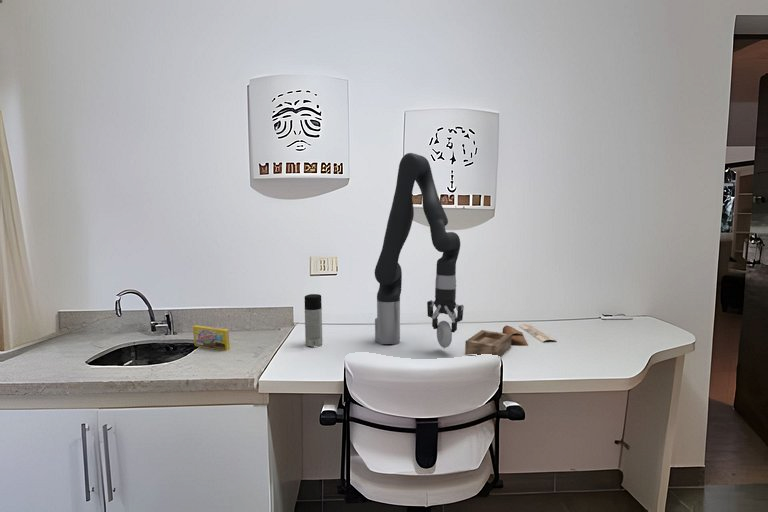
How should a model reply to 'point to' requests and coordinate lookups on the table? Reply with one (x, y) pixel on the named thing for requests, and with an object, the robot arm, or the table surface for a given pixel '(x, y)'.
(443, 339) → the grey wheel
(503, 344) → the walnut base
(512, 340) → the sunglasses case
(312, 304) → the spray can
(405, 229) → the robot arm
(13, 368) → the table surface
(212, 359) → the table surface
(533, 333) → the newspaper
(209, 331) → the candy box
